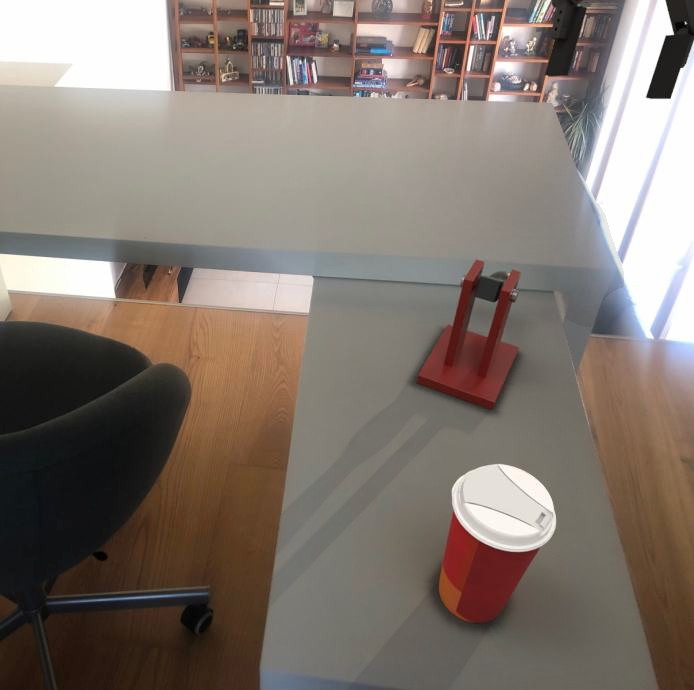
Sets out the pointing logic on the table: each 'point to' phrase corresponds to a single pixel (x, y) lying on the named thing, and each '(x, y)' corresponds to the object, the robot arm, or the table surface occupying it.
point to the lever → (491, 286)
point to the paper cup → (492, 539)
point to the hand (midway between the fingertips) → (608, 87)
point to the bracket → (473, 348)
